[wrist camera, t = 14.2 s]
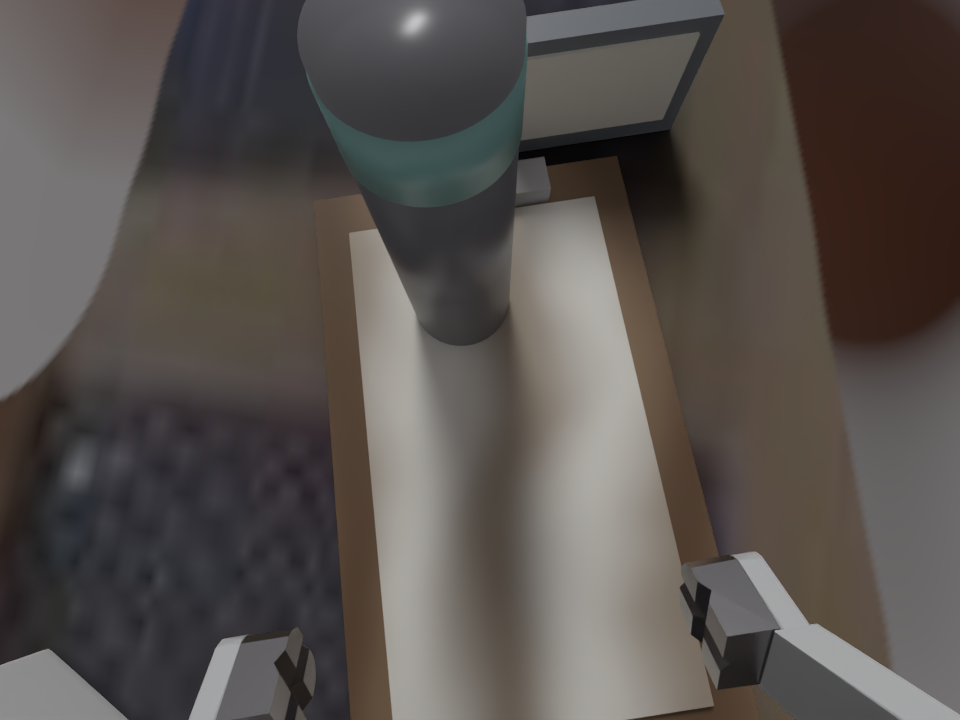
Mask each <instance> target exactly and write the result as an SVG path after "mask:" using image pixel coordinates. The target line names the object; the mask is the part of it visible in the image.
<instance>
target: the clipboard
mask: <svg viewBox="0 0 960 720" xmlns="http://www.w3.org/2000/svg"><path fill="white" fill-rule="evenodd" d="M314 205H315V220H316V234H317V248H318V262H319V276H320V290H321V304H322V318H323V332H324V346H325V361H326V375H327V389H328V403H329V417H330V431H331V445H332V459H333V473H334V488H335V502H336V516H337V530H338V544H339V558H340V572H341V586H342V600H343V615H344V629H345V643H346V657H347V671H348V685H349V699H350V713H351V720H760V716H759V712H758V708H757V704H756V700H755V697H754V693H753V689H752V685H750V686H743V687H736V688H728V689H721V690H717V689H716V687H715V685H714V683H713V681H712V679H711V677H710V675H709V673H708V670H707V668H706V666H705V664H704V662H703V660H702V658H701V651H702V643H701V642H700V641H699V640H697V639H696V638H695V637H693V636H692V635H691V634H690V632H689V630H688V628H687V625H686V623H685V621H684V618H683V615H682V612H681V608H680V602H679V587H680V586H681V585H682V584H683V583H684V580H683V578H682V576H681V568H682V565H683V564H684V563H687V562H692V561H698V560H703V559H709V558H714V557H719V555H718V551H717V547H716V543H715V539H714V535H713V531H712V528H711V524H710V520H709V516H708V512H707V508H706V504H705V500H704V496H703V492H702V488H701V484H700V480H699V476H698V473H697V469H696V465H695V461H694V457H693V453H692V449H691V445H690V441H689V437H688V433H687V429H686V425H685V421H684V418H683V414H682V410H681V406H680V402H679V398H678V394H677V390H676V386H675V382H674V378H673V374H672V370H671V366H670V363H669V359H668V355H667V351H666V347H665V343H664V339H663V335H662V331H661V327H660V323H659V319H658V315H657V311H656V308H655V304H654V300H653V296H652V292H651V288H650V284H649V280H648V276H647V272H646V268H645V264H644V260H643V256H642V252H641V249H640V245H639V241H638V237H637V233H636V229H635V225H634V221H633V217H632V213H631V209H630V205H629V201H628V197H627V194H626V190H625V186H624V182H623V178H622V174H621V170H620V166H619V162H618V158H617V156H612V157H605V158H599V159H592V160H585V161H579V162H572V163H565V164H558V165H552V166H546V163H545V158H544V157H539V158H532V159H525V160H519V161H518V170H517V185H516V201H515V216H514V232H513V248H512V263H511V279H510V294H509V307H508V312H507V315H506V317H505V319H504V321H503V323H502V325H501V326H500V327H499V329H498V330H497V331H496V332H495V333H494V334H493V335H491V336H490V337H488V338H487V339H485V340H483V341H481V342H479V343H476V344H472V345H466V346H455V345H449V344H446V343H443V342H441V341H438V340H437V339H435V338H433V337H432V336H431V335H430V334H428V333H427V332H426V330H425V329H424V328H423V327H422V325H421V324H420V322H419V320H418V318H417V316H416V313H415V311H414V309H413V307H412V305H411V302H410V300H409V298H408V296H407V293H406V291H405V289H404V287H403V285H402V282H401V280H400V278H399V276H398V274H397V271H396V269H395V267H394V265H393V262H392V260H391V258H390V256H389V254H388V251H387V249H386V247H385V245H384V243H383V240H382V238H381V236H380V234H379V231H378V229H377V227H376V225H375V223H374V220H373V218H372V216H371V214H370V212H369V209H368V207H367V205H366V203H365V200H364V198H363V196H362V194H357V195H351V196H344V197H337V198H331V199H324V200H317V201H314Z"/></svg>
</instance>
